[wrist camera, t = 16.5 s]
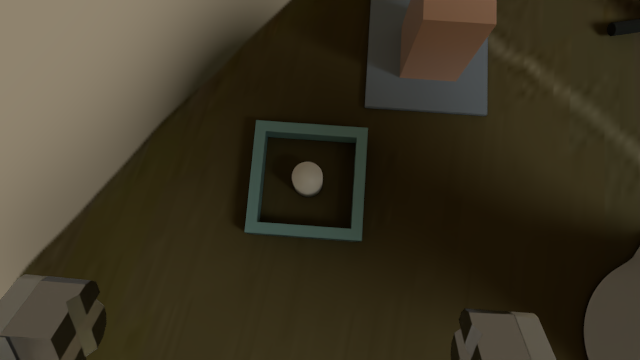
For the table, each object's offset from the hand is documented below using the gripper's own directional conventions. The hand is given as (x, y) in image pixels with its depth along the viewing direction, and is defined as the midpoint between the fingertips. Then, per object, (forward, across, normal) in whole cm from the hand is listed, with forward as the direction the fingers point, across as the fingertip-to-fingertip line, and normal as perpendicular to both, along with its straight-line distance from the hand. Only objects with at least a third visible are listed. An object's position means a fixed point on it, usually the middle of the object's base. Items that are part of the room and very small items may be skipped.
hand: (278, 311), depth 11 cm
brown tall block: (+40, -10, +7) cm, 42 cm away
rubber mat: (+40, -10, +7) cm, 42 cm away
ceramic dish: (+30, +1, +17) cm, 35 cm away
